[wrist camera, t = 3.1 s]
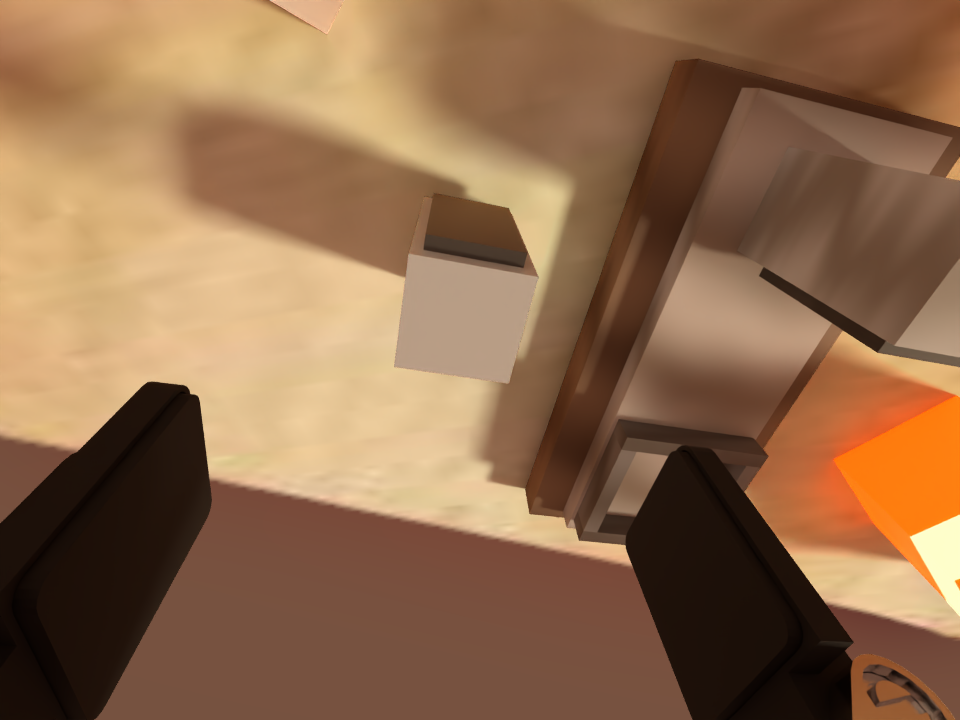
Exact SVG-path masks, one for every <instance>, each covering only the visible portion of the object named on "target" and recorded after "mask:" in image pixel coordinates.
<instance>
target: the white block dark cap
mask: <svg viewBox="0 0 960 720" xmlns="http://www.w3.org/2000/svg"><path fill="white" fill-rule="evenodd" d="M537 281H538V275H537V272H536V270H535V268H534V265H533V263H532V260H531V258H530V256H529V253H528V251H527V249H526V246H525V244H524V242H523V239H522V237H521V234H520V232H519V230H518V227H517V225H516V223H515V220H514V218H513V216H512V214H511V212H510V210H509V208H505V207H500V206H495V205H490V204H485V203H480V202H475V201H470V200H465V199H460V198H455V197H450V196H445V195H440V194H435V193H434V194H433V198H430V197H425V196H424V199H423V203H422V207H421V210H420V214H419V218H418V221H417V225H416V228H415V232H414V236H413V239H412V243H411V247H410V250H409V254H408V262H407V270H406V278H405V285H404V293H403V301H402V309H401V317H400V325H399V332H398V340H397V348H396V356H395V364H394V367H398V368H405V369H412V370H418V371H425V372H432V373H439V374H446V375H453V376H460V377H467V378H473V379H480V380H487V381H494V382H501V383H508V384H509V381H510V377H511V374H512V370H513V367H514V363H515V359H516V356H517V352H518V349H519V345H520V342H521V338H522V334H523V331H524V327H525V324H526V320H527V317H528V313H529V309H530V306H531V302H532V299H533V295H534V292H535V288H536V284H537Z"/></svg>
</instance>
